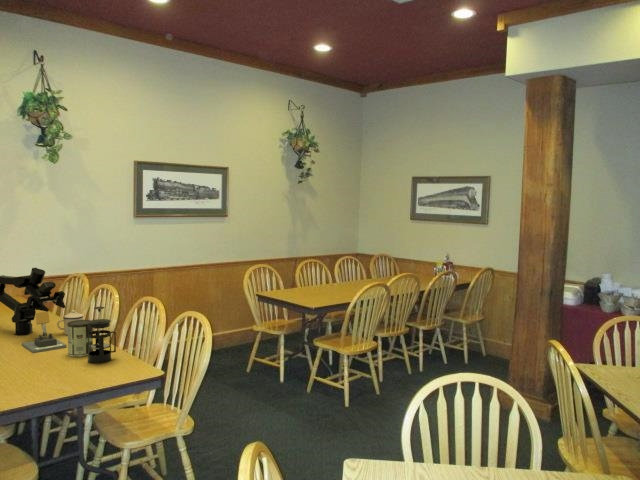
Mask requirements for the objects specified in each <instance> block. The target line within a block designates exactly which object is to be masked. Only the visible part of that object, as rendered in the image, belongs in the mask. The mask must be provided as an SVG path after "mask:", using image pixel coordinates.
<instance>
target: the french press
mask: <svg viewBox="0 0 640 480" xmlns="http://www.w3.org/2000/svg"><path fill="white" fill-rule="evenodd" d="M102 309H103V310H104V309H105V307H104V306H95V307H94V310H97V312H98V318H97V319H91V321H88V324H90V325H91V326H92V327H93V329H98V330H93V331H92V332H89V333H88V355H87V363H89V364H95V365H96V364H97V365H99V364H105V363H106V364H107V363H108V362H111V361H112V353H113V354H114V353H116V352H117V350H116V349H117V346H116V345H117V343H116V342H117V340H116V339H117V337H116V336H117V334H116V331H115V330H114V331H113V330H112V331H111V330H105V329H106V328H108V327H110V323H111V321H112V320H111V319H107V318H101V311H102ZM92 334H93V335H92ZM112 334H113V336H114V337H113V340H114V341H113V343H114V344H113V346H114V347H113V348H114V349H113V350H112ZM89 338H93V339H95V343H93V344H92V345H90V346H89ZM105 338H109V343H108V342H105V341H104V340H105ZM89 348H90V349H93V351H91V352H89ZM108 348H109V349H108ZM107 349H108V350H107Z"/></svg>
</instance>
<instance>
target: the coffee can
mask: <svg viewBox="0 0 640 480" xmlns="http://www.w3.org/2000/svg"><path fill="white" fill-rule="evenodd" d="M91 320H92V319H91ZM91 320H90V319H83V320H75V321H71V322H68V323H67V325H68V335H67V355H68V356H69V357H71V358H73V357H74V358H75V357H76V358H79V357H81V358H82V357H86V356H87V357H88V333H89V332H92V331H94V330H93V329H94V328H93V327H92V326H91V325H90V324H88V321H91ZM92 335H94V334H92ZM93 340H94V338H89V346H90V345H92V344H94V343H93V342H94V341H93ZM91 351H94V350H93V349H90V348H89V352H91Z"/></svg>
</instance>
